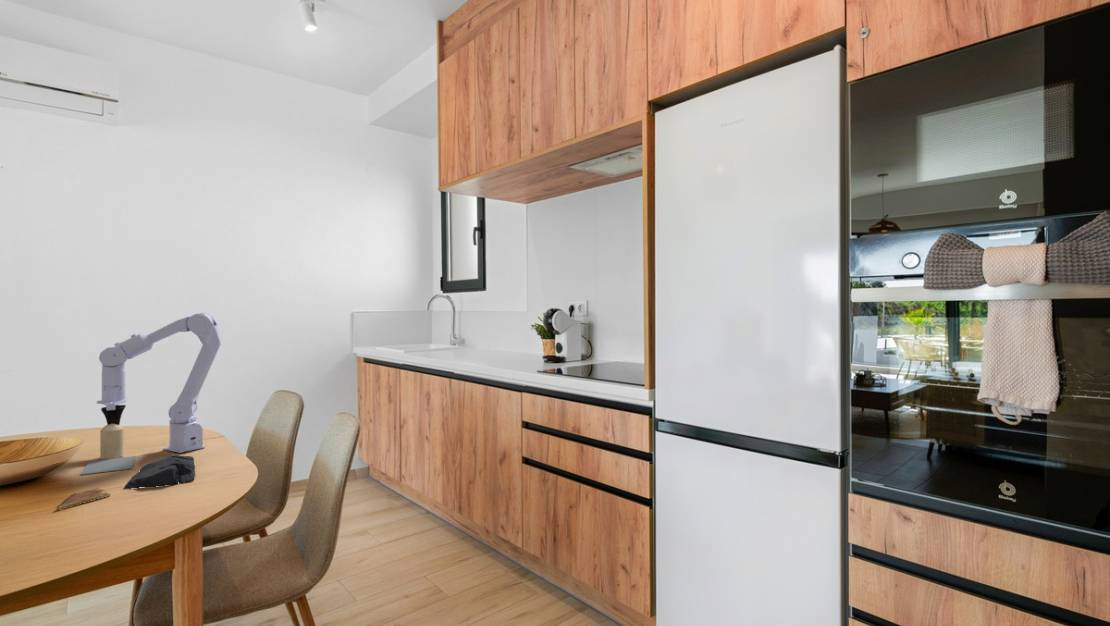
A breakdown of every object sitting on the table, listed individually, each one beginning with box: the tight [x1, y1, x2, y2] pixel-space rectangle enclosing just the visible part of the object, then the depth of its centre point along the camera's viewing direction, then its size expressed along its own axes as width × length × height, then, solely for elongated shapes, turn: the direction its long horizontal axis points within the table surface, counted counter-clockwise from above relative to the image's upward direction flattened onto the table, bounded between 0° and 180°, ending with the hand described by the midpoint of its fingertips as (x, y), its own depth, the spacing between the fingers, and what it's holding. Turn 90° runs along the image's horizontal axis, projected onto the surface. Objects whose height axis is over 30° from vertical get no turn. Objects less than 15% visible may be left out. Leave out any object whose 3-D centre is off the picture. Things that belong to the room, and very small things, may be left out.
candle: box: [99, 424, 125, 460], centre depth 167 cm, size 6×6×10 cm
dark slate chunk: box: [123, 454, 196, 490], centre depth 151 cm, size 15×22×5 cm
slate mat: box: [80, 455, 137, 476], centre depth 158 cm, size 14×11×1 cm
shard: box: [56, 487, 111, 511], centre depth 130 cm, size 11×8×2 cm
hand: (113, 429), depth 170 cm, fingers closed
